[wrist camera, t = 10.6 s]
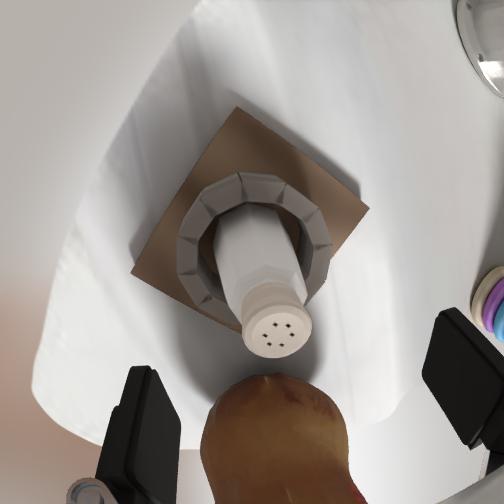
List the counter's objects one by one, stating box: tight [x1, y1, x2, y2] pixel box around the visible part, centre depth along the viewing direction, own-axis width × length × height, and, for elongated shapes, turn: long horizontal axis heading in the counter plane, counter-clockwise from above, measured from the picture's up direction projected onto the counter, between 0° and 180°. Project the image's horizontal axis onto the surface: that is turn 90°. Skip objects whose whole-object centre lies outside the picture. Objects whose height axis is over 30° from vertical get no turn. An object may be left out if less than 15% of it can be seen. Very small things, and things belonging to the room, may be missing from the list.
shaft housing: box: [131, 107, 370, 334], centre depth 21 cm, size 14×12×5 cm
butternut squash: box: [200, 373, 368, 504], centre depth 19 cm, size 14×13×25 cm
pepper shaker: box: [212, 202, 312, 358], centre depth 17 cm, size 5×5×11 cm
